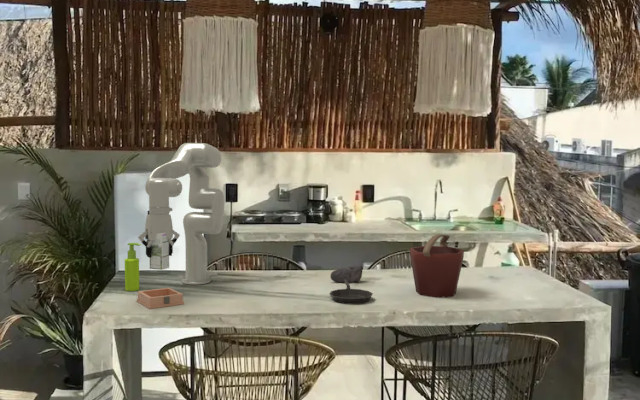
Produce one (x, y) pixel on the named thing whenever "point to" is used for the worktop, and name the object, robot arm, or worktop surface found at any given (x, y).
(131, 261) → the soap dispenser
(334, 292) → the frying pan
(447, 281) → the bucket
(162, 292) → the pink square tray
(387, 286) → the worktop surface
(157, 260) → the syrup box
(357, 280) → the perforated stone tool
